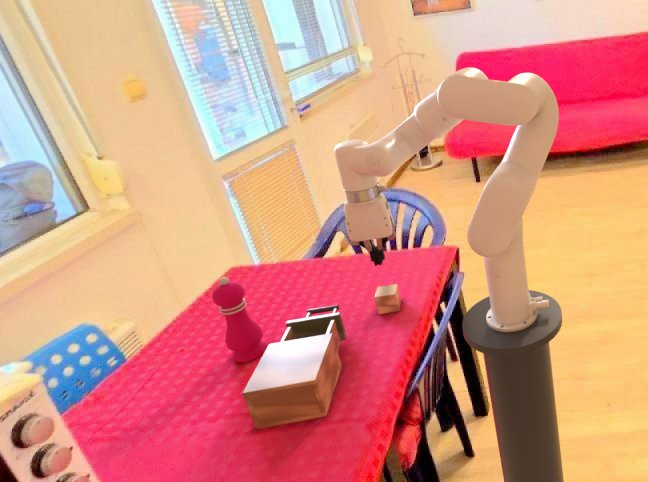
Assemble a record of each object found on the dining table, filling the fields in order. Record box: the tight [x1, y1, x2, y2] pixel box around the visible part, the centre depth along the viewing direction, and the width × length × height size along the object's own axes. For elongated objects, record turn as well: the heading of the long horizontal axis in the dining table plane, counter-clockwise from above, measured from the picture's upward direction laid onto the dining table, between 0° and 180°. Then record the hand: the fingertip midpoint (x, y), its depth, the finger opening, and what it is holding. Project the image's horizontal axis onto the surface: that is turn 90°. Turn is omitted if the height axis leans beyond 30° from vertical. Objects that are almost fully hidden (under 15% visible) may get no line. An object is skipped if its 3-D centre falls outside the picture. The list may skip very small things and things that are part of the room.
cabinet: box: [242, 333, 343, 430], centre depth 103 cm, size 15×13×9 cm
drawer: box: [279, 304, 348, 351], centre depth 116 cm, size 21×11×7 cm, turn 11°
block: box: [374, 283, 402, 315], centre depth 132 cm, size 5×5×5 cm
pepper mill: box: [211, 276, 266, 363], centre depth 116 cm, size 7×7×20 cm
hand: (379, 262), depth 128 cm, fingers closed
